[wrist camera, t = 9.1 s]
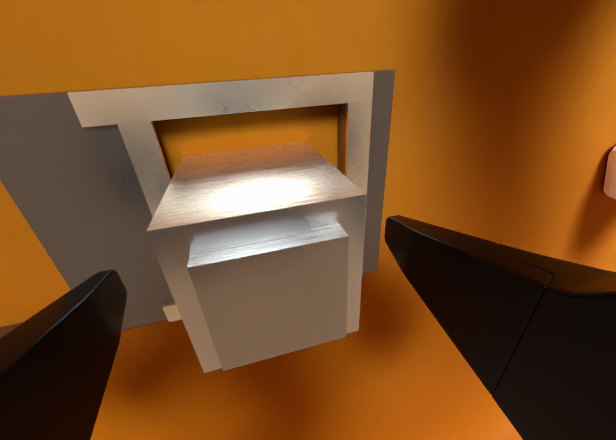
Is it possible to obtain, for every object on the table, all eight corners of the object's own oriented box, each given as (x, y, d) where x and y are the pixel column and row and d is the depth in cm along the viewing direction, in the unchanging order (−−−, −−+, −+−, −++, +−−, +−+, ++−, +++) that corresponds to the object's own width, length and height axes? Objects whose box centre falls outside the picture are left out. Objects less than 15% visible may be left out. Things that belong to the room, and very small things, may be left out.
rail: (384, 70, 11) (398, 69, 10) (370, 262, 16) (378, 273, 15) (-549, 133, 6) (-669, 143, 6) (-162, 381, 11) (-194, 406, 10)
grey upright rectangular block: (305, 141, 12) (378, 204, 6) (310, 237, 14) (366, 345, 9) (182, 155, 11) (138, 247, 5) (211, 257, 13) (202, 393, 8)
